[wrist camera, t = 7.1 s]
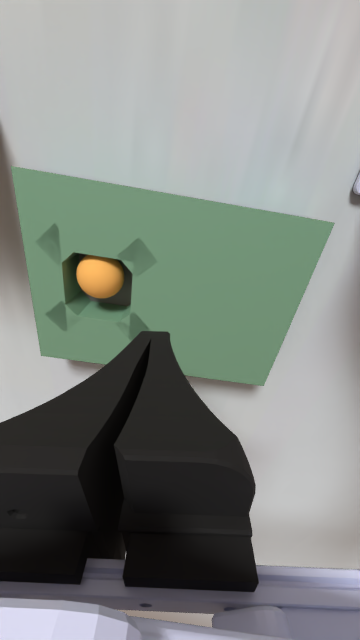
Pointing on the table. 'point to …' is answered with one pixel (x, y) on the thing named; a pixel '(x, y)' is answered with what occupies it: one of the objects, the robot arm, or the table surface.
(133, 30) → the table surface
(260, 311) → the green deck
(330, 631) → the robot arm
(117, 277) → the ball
